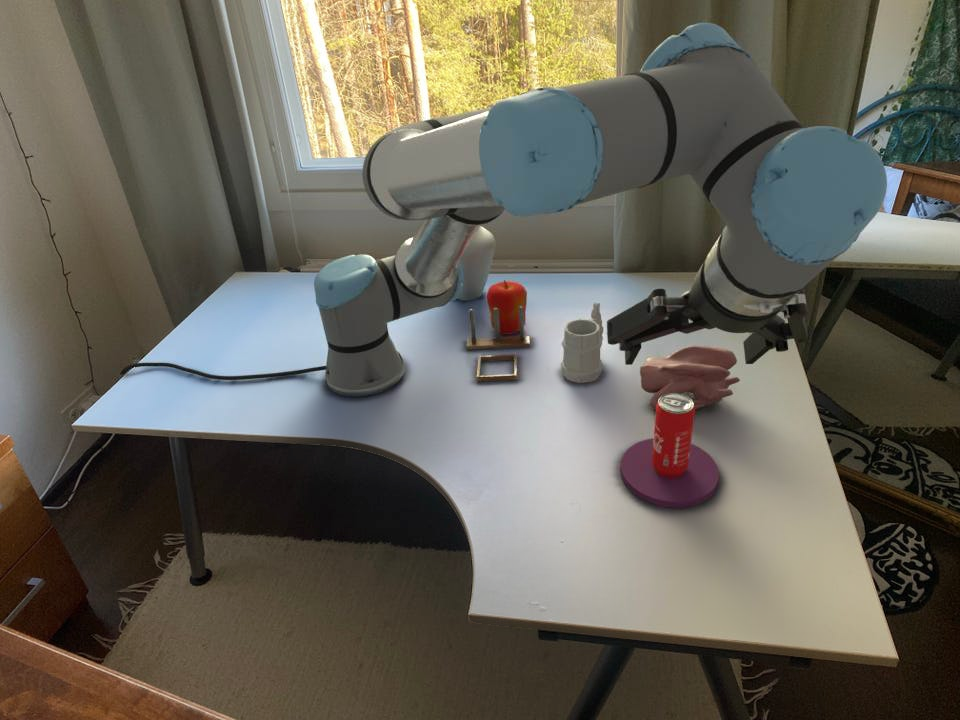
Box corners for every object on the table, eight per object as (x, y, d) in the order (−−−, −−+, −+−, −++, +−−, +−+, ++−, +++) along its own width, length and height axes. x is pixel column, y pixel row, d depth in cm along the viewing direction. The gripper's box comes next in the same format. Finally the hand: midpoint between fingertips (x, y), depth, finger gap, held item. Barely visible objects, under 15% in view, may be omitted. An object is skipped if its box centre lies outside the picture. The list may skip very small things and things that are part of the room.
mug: (553, 377, 117) (552, 321, 111) (582, 348, 125) (582, 294, 119) (591, 388, 113) (592, 331, 107) (618, 357, 121) (620, 302, 115)
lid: (609, 493, 91) (609, 487, 90) (632, 435, 101) (633, 429, 101) (710, 519, 85) (711, 512, 85) (724, 455, 96) (725, 449, 95)
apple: (507, 344, 129) (504, 292, 123) (480, 331, 135) (476, 281, 128) (536, 328, 134) (534, 278, 127) (509, 316, 139) (506, 267, 133)
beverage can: (681, 484, 90) (689, 418, 83) (646, 473, 92) (651, 408, 86) (691, 462, 93) (700, 397, 87) (657, 452, 96) (663, 388, 89)
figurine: (652, 429, 108) (737, 418, 98) (628, 380, 106) (712, 363, 96) (676, 393, 117) (756, 379, 106) (654, 346, 114) (734, 328, 104)
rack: (531, 379, 118) (529, 340, 113) (462, 382, 119) (458, 343, 114) (529, 339, 130) (528, 302, 126) (467, 342, 131) (463, 306, 127)
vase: (426, 300, 149) (412, 197, 136) (462, 277, 159) (452, 179, 146) (475, 313, 142) (465, 206, 128) (510, 288, 151) (504, 186, 138)
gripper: (599, 321, 52) (580, 384, 73) (912, 318, 50) (803, 384, 71) (595, 240, 54) (578, 324, 75) (896, 234, 52) (794, 321, 73)
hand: (687, 353), depth 73 cm, fingers open, 13 cm apart
